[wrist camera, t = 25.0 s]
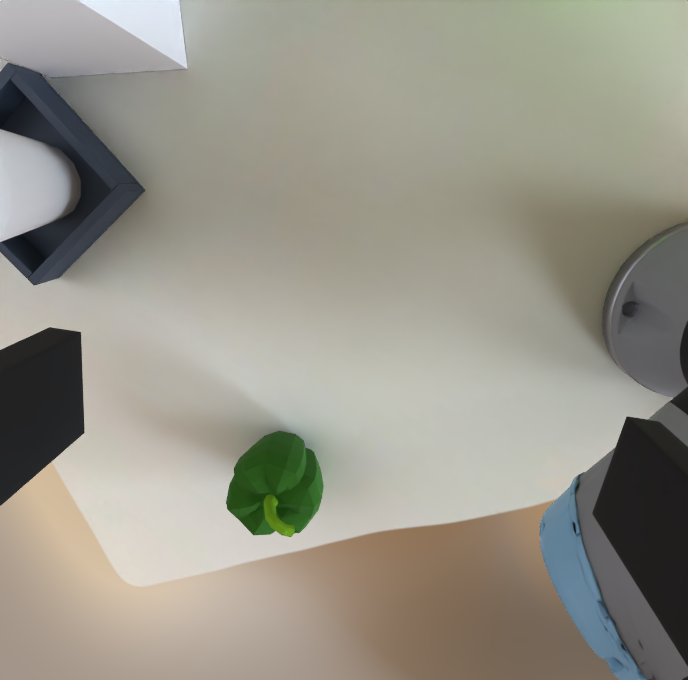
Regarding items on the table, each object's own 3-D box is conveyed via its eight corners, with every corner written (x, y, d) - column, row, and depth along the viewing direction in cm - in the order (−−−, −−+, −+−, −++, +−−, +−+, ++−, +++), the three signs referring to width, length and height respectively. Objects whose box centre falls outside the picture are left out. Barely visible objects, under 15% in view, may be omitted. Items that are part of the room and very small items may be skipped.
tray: (145, 190, 43) (125, 191, 40) (59, 278, 46) (34, 286, 43) (38, 71, 40) (7, 62, 37) (-46, 172, 44) (-81, 172, 40)
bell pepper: (228, 446, 50) (193, 509, 41) (291, 404, 48) (269, 460, 39) (280, 504, 52) (258, 578, 43) (342, 466, 50) (334, 534, 41)
